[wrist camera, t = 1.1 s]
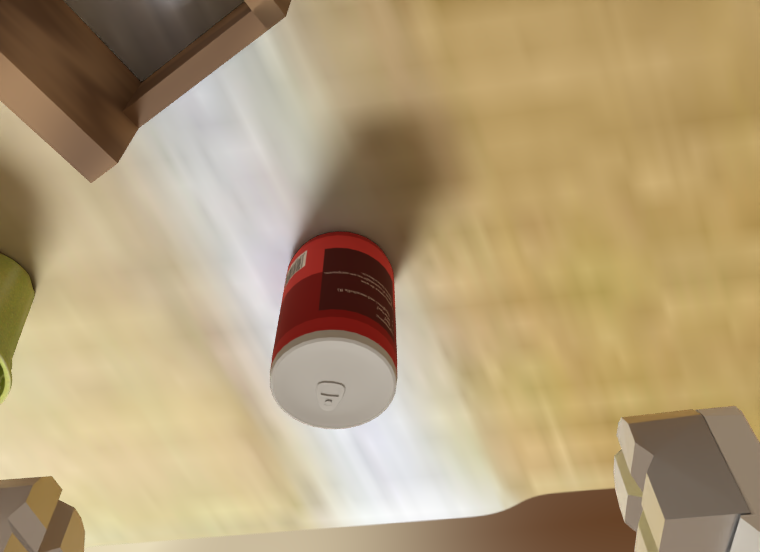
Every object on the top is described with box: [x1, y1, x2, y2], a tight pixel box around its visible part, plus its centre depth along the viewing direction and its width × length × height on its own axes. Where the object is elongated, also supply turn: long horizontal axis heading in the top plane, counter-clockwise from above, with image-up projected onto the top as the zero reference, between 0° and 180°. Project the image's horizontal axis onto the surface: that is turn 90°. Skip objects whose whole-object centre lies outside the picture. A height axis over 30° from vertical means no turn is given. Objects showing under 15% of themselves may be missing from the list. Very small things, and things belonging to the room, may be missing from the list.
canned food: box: [270, 231, 397, 429], centre depth 46 cm, size 8×8×11 cm
